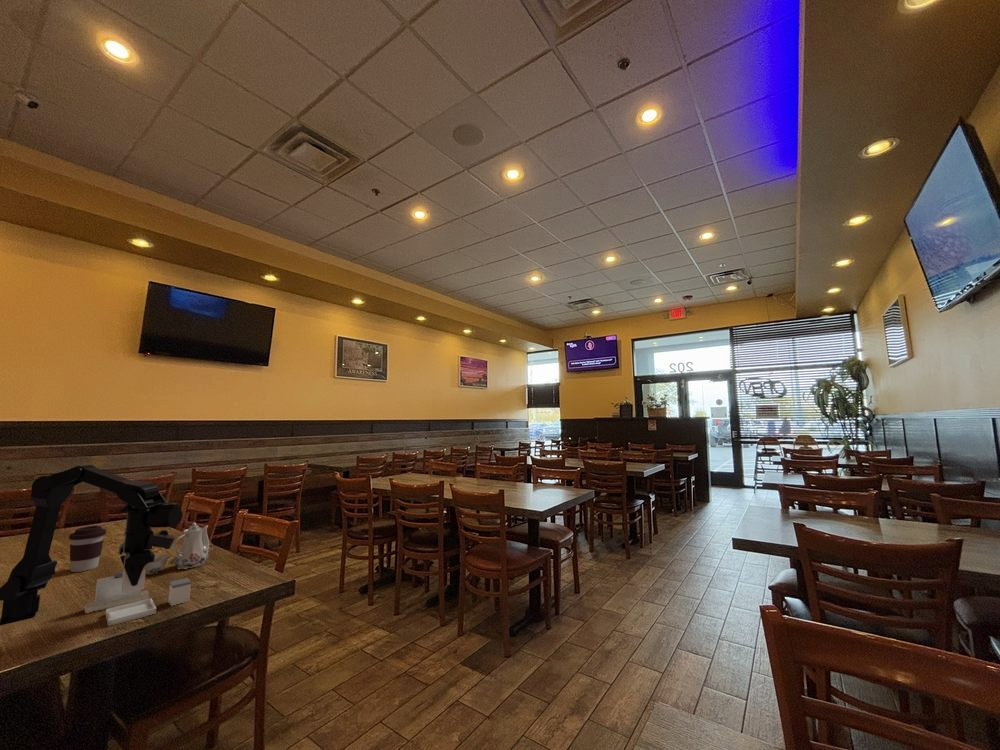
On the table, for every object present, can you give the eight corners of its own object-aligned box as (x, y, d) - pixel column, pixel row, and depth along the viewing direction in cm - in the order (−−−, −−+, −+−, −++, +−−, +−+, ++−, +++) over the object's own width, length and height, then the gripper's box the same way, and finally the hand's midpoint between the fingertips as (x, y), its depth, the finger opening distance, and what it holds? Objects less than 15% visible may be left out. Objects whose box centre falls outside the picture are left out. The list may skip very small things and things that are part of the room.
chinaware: (195, 557, 171) (194, 516, 173) (232, 553, 169) (231, 512, 171) (129, 583, 143) (129, 534, 145) (173, 579, 142) (172, 530, 144)
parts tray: (108, 626, 109) (108, 620, 110) (105, 614, 116) (106, 609, 116) (156, 613, 117) (156, 608, 117) (151, 603, 124) (151, 598, 124)
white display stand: (85, 613, 117) (88, 581, 118) (84, 609, 120) (87, 577, 121) (148, 598, 127) (151, 568, 128) (146, 594, 130) (149, 565, 131)
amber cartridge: (123, 593, 114) (125, 571, 115) (121, 589, 117) (123, 567, 118) (144, 588, 117) (146, 567, 118) (142, 584, 120) (144, 563, 121)
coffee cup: (56, 574, 147) (61, 531, 149) (83, 564, 157) (88, 524, 159) (84, 573, 147) (89, 531, 149) (110, 564, 157) (114, 524, 159)
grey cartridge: (170, 606, 121) (172, 585, 122) (168, 602, 124) (170, 581, 125) (189, 601, 125) (191, 581, 125) (186, 597, 128) (188, 577, 128)
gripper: (179, 528, 119) (174, 584, 117) (168, 517, 131) (163, 568, 130) (128, 535, 111) (122, 596, 109) (121, 524, 123) (116, 577, 122)
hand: (133, 583), depth 117 cm, fingers closed on amber cartridge, 4 cm apart
